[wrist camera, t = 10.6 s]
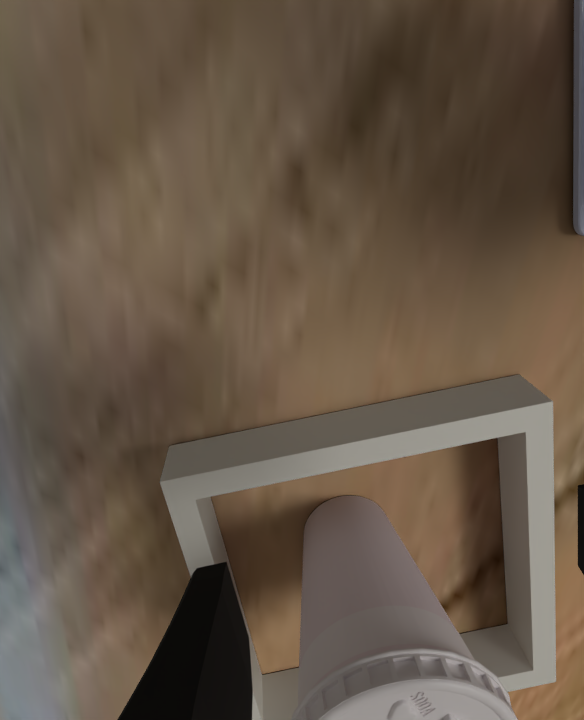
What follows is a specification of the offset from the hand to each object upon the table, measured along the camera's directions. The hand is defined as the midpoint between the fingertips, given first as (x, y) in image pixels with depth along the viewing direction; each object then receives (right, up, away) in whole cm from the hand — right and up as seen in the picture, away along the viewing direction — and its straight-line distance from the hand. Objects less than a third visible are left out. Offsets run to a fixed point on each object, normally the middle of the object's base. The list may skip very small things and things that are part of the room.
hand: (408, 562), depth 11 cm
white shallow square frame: (+1, -4, +13) cm, 14 cm away
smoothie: (0, -3, +13) cm, 13 cm away
